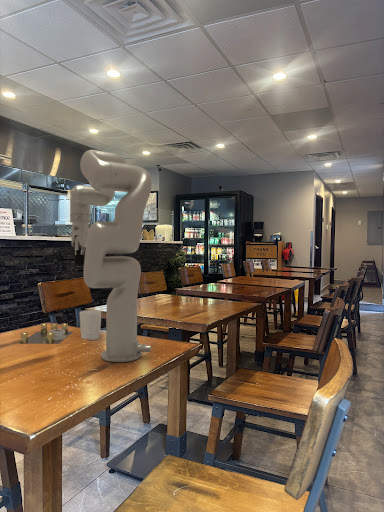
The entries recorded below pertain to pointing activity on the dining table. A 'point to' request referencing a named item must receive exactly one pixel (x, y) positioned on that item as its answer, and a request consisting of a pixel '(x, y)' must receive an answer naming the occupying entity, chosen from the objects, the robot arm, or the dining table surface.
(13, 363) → the dining table surface
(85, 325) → the white cup
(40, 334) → the jig plate
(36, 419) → the dining table surface
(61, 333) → the steel nut
